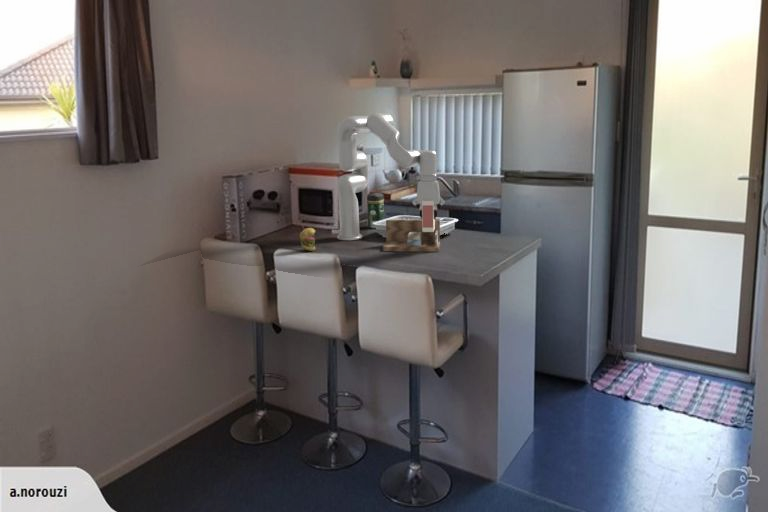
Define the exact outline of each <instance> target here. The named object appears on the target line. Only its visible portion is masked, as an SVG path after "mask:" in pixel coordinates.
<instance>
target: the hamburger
mask: <svg viewBox="0 0 768 512" xmlns="http://www.w3.org/2000/svg"><path fill="white" fill-rule="evenodd" d="M302 227H303V230H302V231H301V232H300V233H299V239H300V244H301V248H303V249H305V251H310V252H314V251H316V246H315V245H316V244H315V243H316V242H315V241H316V238H315V233H316V229H314V227H313V228H312V227H307V228H304V225H302Z"/></svg>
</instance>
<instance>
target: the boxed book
mask: <svg viewBox="0 0 768 512" xmlns="http://www.w3.org/2000/svg"><path fill="white" fill-rule="evenodd" d="M434 209H435V208H434V200H422V232H434V229H435V219H434Z"/></svg>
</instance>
